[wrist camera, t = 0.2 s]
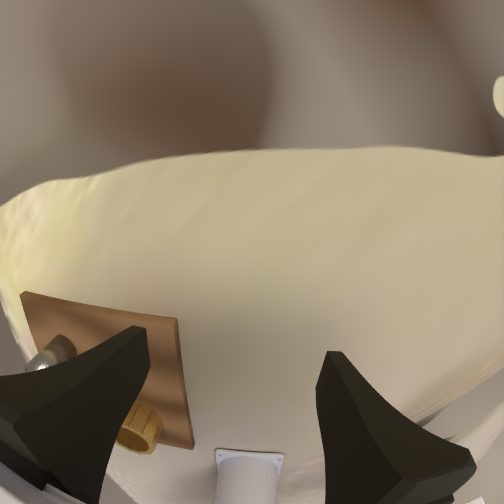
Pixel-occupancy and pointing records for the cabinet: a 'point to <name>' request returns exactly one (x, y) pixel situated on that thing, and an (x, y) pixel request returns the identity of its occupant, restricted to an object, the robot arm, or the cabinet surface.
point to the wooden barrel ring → (140, 429)
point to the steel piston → (53, 354)
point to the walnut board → (106, 326)
